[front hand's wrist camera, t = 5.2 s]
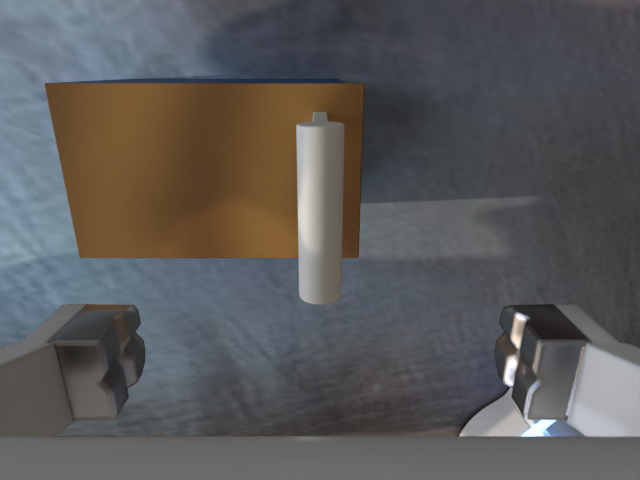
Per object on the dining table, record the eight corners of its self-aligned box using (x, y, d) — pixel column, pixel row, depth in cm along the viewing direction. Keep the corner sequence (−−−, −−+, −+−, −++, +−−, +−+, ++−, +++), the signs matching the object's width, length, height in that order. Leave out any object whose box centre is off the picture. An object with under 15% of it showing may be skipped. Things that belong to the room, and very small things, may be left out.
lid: (362, 82, 24) (386, 90, 15) (357, 251, 27) (373, 331, 19) (55, 82, 24) (-86, 90, 15) (88, 251, 27) (-13, 331, 19)
